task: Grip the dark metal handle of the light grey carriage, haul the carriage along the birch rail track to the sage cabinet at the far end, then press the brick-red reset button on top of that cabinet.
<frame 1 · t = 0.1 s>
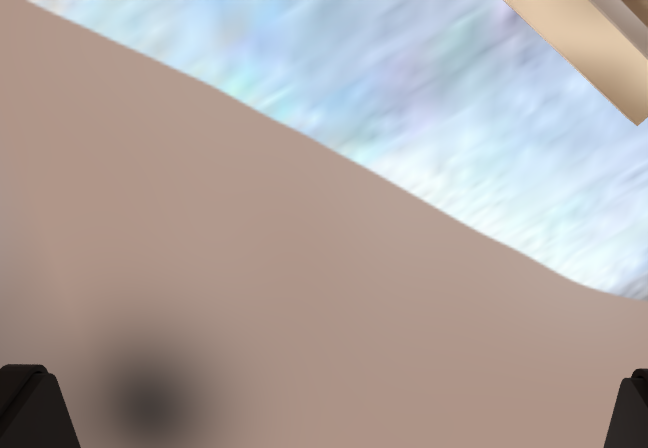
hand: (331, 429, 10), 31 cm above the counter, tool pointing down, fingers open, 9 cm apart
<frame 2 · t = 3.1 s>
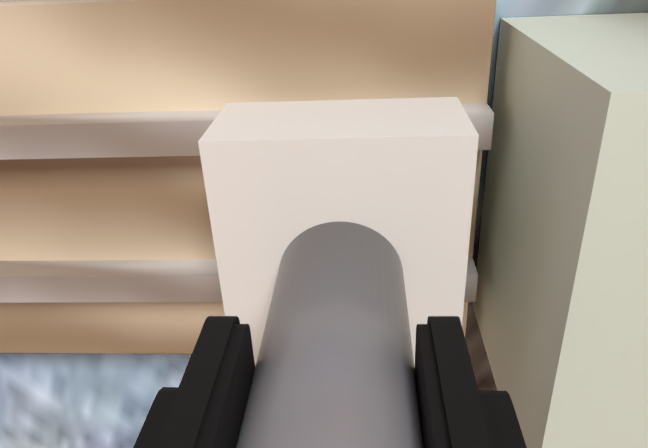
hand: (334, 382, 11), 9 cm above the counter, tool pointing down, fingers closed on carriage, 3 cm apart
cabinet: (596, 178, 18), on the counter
carriage: (335, 360, 11), point 9 cm above the counter, slide at 0.0 cm, touching gripper
rail track: (96, 186, 19), on the counter
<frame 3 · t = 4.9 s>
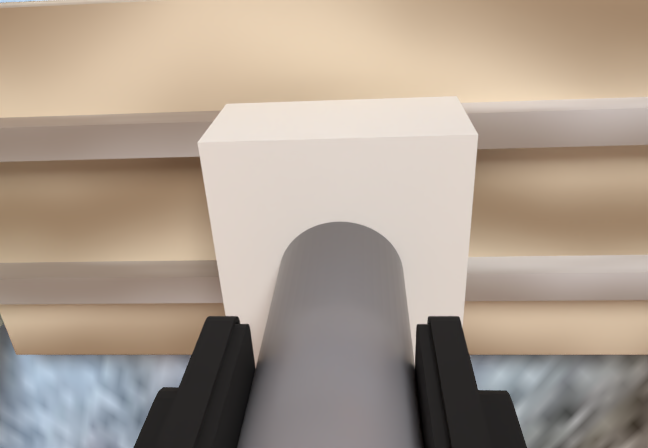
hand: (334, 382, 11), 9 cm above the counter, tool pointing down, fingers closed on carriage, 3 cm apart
carriage: (336, 360, 11), point 9 cm above the counter, slide at 8.6 cm, touching gripper
rail track: (348, 182, 19), on the counter
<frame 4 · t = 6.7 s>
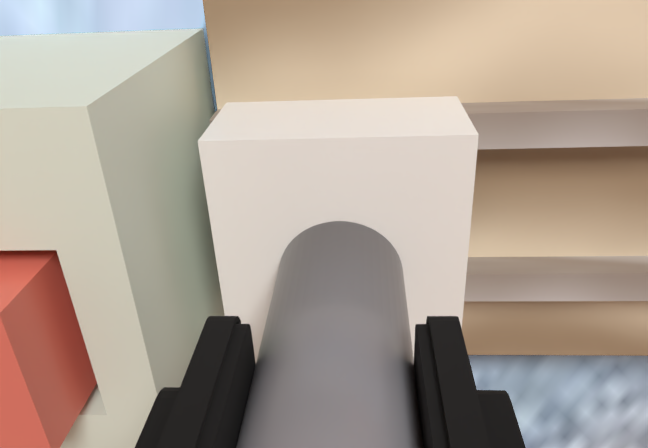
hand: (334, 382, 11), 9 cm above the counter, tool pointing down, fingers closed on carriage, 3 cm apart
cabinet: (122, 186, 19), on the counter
carriage: (335, 360, 11), point 9 cm above the counter, slide at 17.4 cm, touching gripper
rail track: (626, 177, 18), on the counter
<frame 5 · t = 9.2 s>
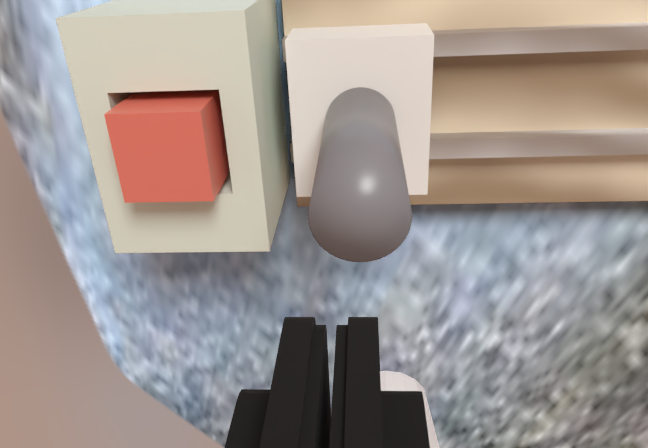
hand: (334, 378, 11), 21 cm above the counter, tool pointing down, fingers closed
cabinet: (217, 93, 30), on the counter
shot glass: (386, 399, 40), on the counter
carriage: (360, 146, 22), point 9 cm above the counter, slide at 17.5 cm
reset button: (176, 140, 23), point 7 cm above the counter, slide at 0.0 cm
rail track: (537, 83, 29), on the counter
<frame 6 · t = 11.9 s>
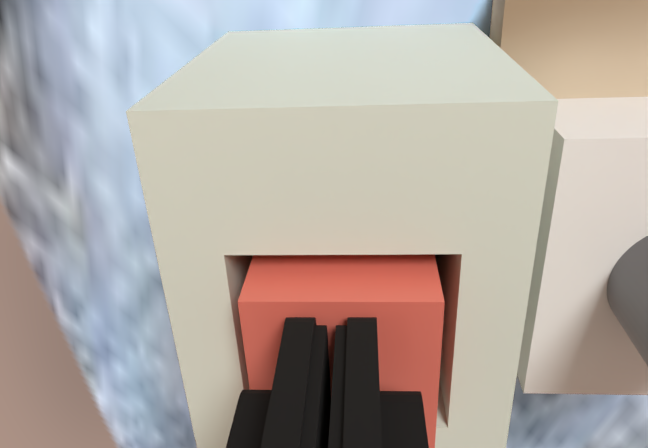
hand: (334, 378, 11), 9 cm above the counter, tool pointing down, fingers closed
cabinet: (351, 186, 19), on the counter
reset button: (345, 314, 12), point 7 cm above the counter, slide at 0.6 cm, touching gripper
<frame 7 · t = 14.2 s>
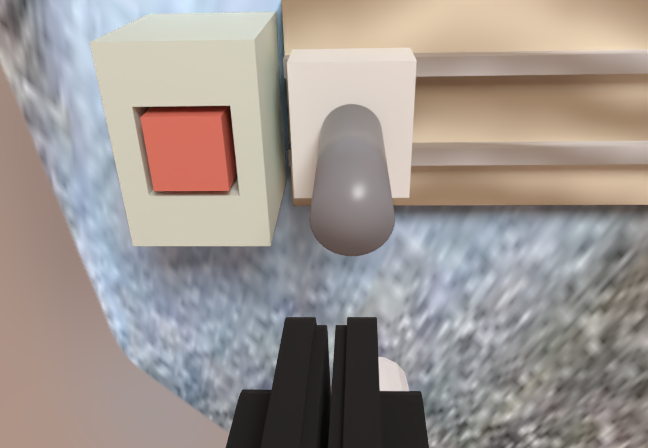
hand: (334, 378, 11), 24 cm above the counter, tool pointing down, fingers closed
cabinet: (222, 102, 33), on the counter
shot glass: (370, 381, 43), on the counter
carriage: (351, 156, 25), point 9 cm above the counter, slide at 17.5 cm
reset button: (196, 139, 28), point 6 cm above the counter, slide at 1.2 cm
rail track: (507, 99, 32), on the counter
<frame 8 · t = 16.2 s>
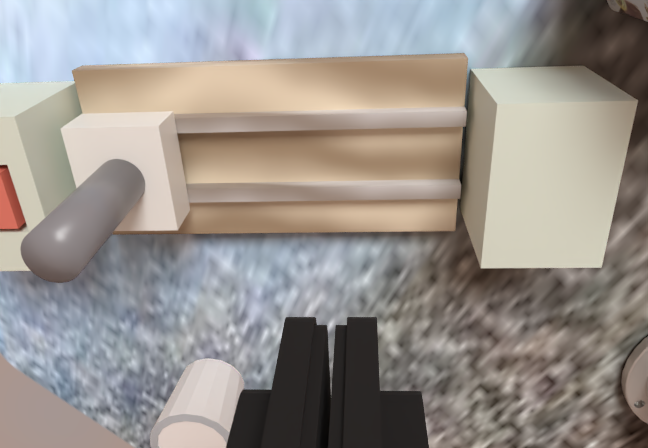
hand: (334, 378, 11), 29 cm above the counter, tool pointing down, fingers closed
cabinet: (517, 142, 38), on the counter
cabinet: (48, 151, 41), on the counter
shot glass: (213, 381, 50), on the counter
carriage: (101, 202, 33), point 9 cm above the counter, slide at 17.5 cm
rail track: (276, 147, 39), on the counter
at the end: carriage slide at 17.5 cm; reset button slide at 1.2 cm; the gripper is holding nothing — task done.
